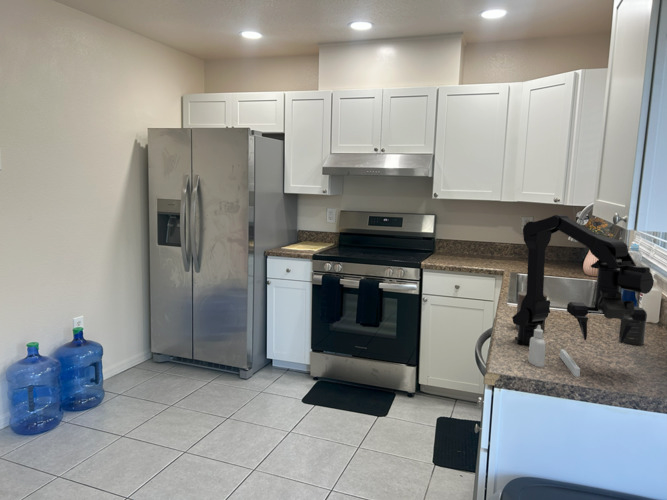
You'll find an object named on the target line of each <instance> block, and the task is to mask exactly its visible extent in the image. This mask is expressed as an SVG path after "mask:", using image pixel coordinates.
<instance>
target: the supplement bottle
mask: <svg viewBox="0 0 667 500" xmlns="http://www.w3.org/2000/svg"><path fill="white" fill-rule="evenodd" d="M641 308H642V309H643V310H645V309H644V308H643V307H641ZM646 326H647V320H646V321H640V323H637V324H635V325H634V326H632V328H631V329H630V330H629V332H628V334H627V335H626V337H625V339H624V341H623V343H624V344H627V345H631V346H642V345H644V344H645V338H646V337H645V335H646Z"/></svg>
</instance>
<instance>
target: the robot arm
mask: <svg viewBox="0 0 667 500" xmlns="http://www.w3.org/2000/svg"><path fill="white" fill-rule="evenodd" d="M522 227H523V228H522V234H523V237H522V238H523V242H524V243H525V246H526V248H527V251H528V253H527V270H526V271H527V272H526V273H527V276H526V291H527V293H526V295H525V297H524V299H523V300H522V302H521V308H520V311H519V312H518V313H517V312H516V313H515V314H514V315H513V316H512V318H511V319H512V323H513V324H514V325H515V326H516V325H518V330H517V336H515V337H514V339H515V341H516V344H517V345H522V346H523V345H526V346H529V345H530V338H531V337H534V329H537V325H540V324H541V325H542V324H543V323H544V320H545V321H546V319H547V318H548V317H549V314H550V313H551V310H550V306H551V300H550V299H549V300H548V299H547V300H546V299H545V297H544V295H543V293H544V286H545V285H544V283H545V282H544V281H545V280H544V279H545V259H546V249H547V247H548V246H549V244H550V242H551V239H552V234H555V233H558V232H561V233H563V234H564V235H567V236H568V237H570V238H571V239H573V240H575V241H577V242H578V243H580V244H581V245H583V246H585V247H586V248H587V249H588V250H589V252H590V253H591V255H592V256H594V257H595V258H596V261H595V262H593V263H592V264H591V265H590V268H592V269H597V277H596V287H594V292H595V298H594V301H593V306H587V304H585V303H584V302H577V301H569V302H568V303H567V306H566V312H568V314H570V315H571V316H573V318H575V319H576V320H577V322H578V326H579V328H580V332H581V334H582V338H583V341H587V339H588V338H587V337H588V321H589V317H588V316H587V315H588V314H593V315H594V314H595V315H596V314H597V315H603V317H604V318H606V319H608V320H612V319H618V320H620V324H619V325H620V326H619V335H618V338H619V339H618V342H619V343H620V344H623V343H624V342H623V341H624V339H625V337H626V335H627V334H628V332H629V330H630V329H631V328H632V326H634V325H635V324H637V323H640V321H646V322H647V319H648V318H647V317H648V314H647V311H646V310H645V309H644V308H643V307H639V306H636V305H635V302H634V301H632V300H623V299H622V292H621V290H625V291H629V292H635V293H638V294H645V295H646V294H649V293H650V292H651V290H652V289H653V288H654V281H655V280H654V277H653V274H652V273H651V271H650V270H651V268H650V266H637V265H636V264H637V263H635V261H634V260H633V258H632V255H631V254H630V252H629V249H628V245H627V244H626V243H625V242H624V241H622V240H619V239H615V238H613V237H609V236H604V235H600V234H599V233H597V232H595V231H594V230H591V229H590V228H588V227H586V226H584V225H582V224H580V223H579V222H577V221H575V220H574V219H572V218H570V217H569V216H568V215H566V214H555V215H552V216H550V217H547V218H542V219H540V220H535V221H533V220H532V221H528V222H526V223H525V224H524V225H523V226H522ZM597 259H598V260H597ZM642 308H643V309H644V310H643V309H642Z"/></svg>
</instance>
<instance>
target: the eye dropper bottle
mask: <svg viewBox="0 0 667 500" xmlns="http://www.w3.org/2000/svg"><path fill="white" fill-rule="evenodd" d="M546 345H547V343H546V340H545V339H544V333H543V330H541V326H540V325H538V327H537V329H534V337H531V338H530V345H528V346H529V348H528V359H527V360H528V362H529V364H531V365H533V366H535V367H541V368H543V367H545V361H546Z"/></svg>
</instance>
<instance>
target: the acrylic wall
mask: <svg viewBox="0 0 667 500" xmlns="http://www.w3.org/2000/svg"><path fill="white" fill-rule="evenodd" d="M559 358H560V359H561V361H562V362H563V363H564V365H565V366H566V368H567V369H568V370H569V371H570V373H571V374H572V375H573V377H576V378H580V374H581V368H580V367H579V365H577V363H576V362H575V361H574V359H573V358H572V356H570V355H569V354H568V352H567V350H566V349H562V348H561V349H560V351H559Z"/></svg>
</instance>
